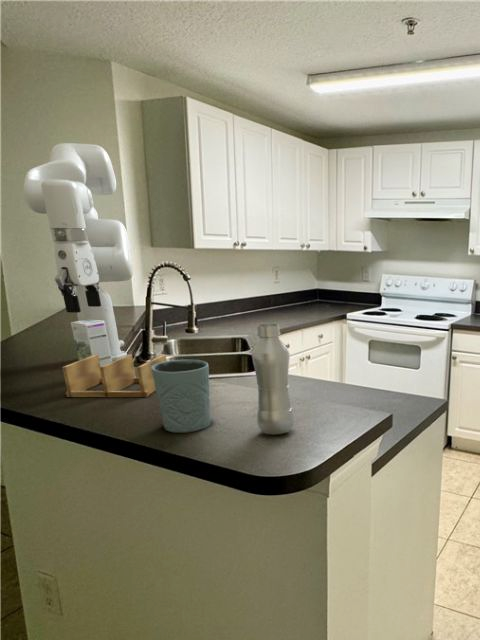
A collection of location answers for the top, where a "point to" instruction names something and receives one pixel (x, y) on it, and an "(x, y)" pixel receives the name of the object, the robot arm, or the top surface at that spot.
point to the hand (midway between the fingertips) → (84, 309)
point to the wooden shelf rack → (109, 377)
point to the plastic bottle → (272, 381)
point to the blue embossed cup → (183, 394)
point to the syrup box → (91, 340)
